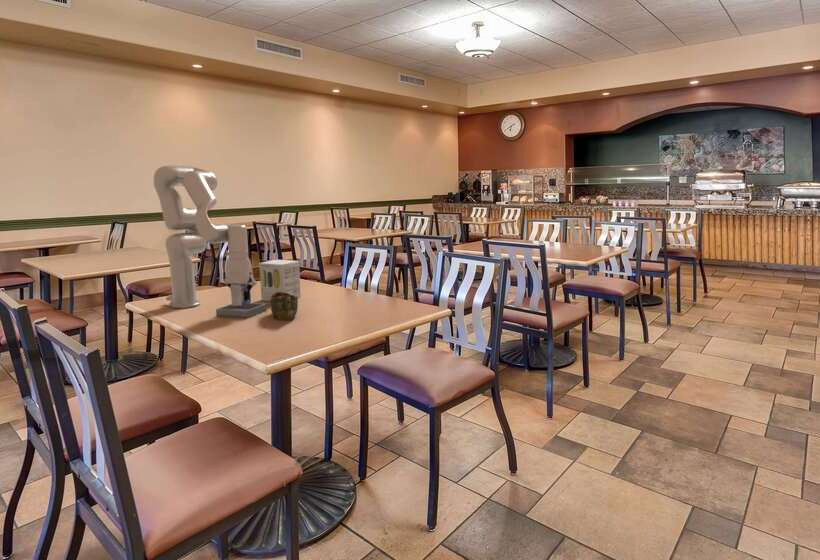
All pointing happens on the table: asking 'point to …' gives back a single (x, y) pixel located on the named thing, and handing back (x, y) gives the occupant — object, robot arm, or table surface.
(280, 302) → the cup
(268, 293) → the supplement box
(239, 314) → the tray
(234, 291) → the medicine box
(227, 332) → the table surface
